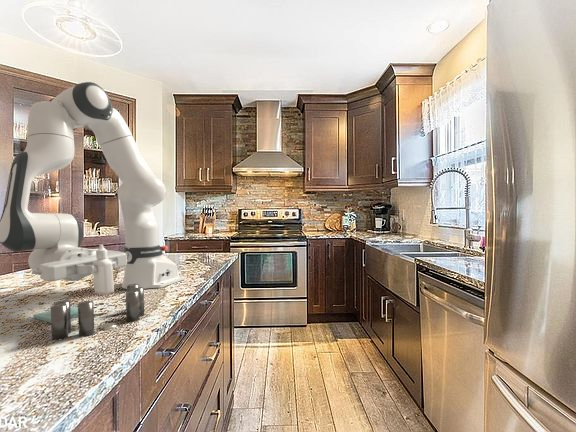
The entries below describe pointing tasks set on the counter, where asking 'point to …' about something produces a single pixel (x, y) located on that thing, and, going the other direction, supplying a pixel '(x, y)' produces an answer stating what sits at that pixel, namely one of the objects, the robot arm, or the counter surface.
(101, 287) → the eye dropper bottle
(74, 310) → the pad
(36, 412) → the counter surface
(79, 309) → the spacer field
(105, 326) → the grey flat disc
